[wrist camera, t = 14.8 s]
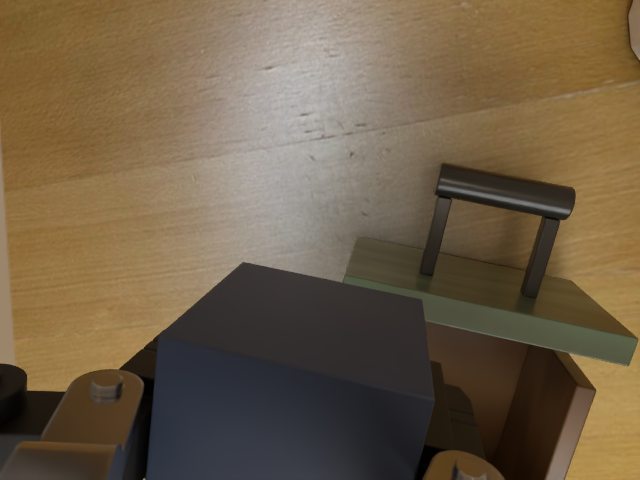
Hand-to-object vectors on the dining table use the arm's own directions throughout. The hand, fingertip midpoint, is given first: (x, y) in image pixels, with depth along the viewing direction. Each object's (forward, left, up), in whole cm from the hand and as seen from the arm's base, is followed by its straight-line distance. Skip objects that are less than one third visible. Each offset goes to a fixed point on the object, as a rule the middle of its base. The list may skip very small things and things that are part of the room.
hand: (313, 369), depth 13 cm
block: (0, 0, 0) cm, 0 cm away
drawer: (+6, -4, -15) cm, 16 cm away
